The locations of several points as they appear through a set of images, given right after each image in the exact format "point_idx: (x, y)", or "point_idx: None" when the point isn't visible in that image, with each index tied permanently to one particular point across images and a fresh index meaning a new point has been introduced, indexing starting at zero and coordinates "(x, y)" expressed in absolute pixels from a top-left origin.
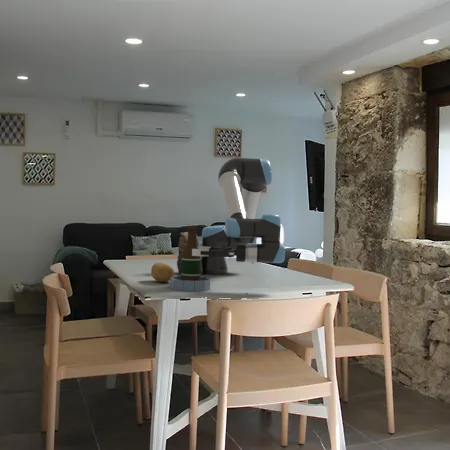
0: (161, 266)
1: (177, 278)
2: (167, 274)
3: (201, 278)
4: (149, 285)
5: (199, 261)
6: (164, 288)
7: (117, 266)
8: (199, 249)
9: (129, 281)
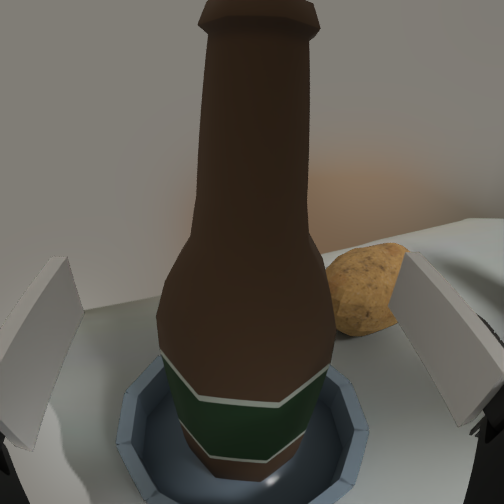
0: (337, 264)
1: None
2: None
3: (341, 467)
4: None
5: (221, 410)
6: None
7: (480, 220)
8: (18, 306)
9: None
